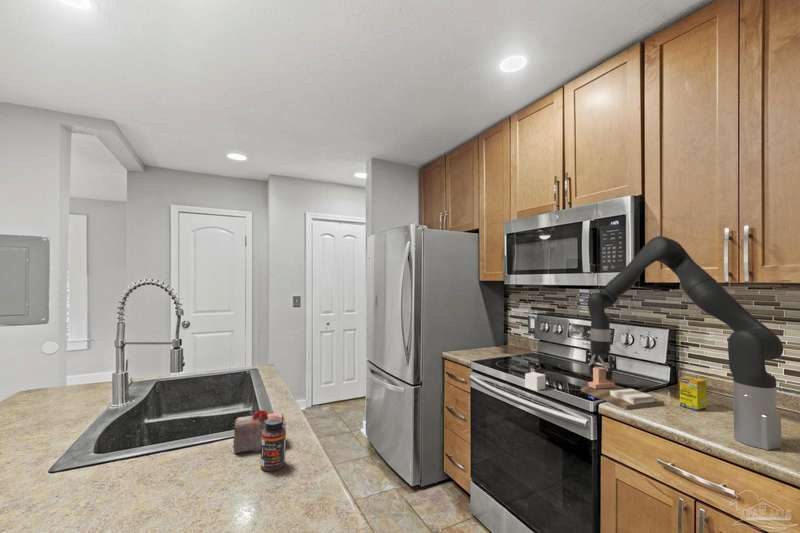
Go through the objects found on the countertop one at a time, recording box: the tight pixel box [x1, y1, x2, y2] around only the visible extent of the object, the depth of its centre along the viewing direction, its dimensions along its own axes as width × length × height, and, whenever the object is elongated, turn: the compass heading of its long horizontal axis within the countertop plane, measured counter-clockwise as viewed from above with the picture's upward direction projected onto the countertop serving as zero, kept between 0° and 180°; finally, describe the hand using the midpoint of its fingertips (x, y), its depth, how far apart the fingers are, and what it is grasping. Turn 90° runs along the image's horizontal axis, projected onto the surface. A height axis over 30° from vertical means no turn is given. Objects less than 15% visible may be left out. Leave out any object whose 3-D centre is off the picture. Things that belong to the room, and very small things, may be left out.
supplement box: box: [679, 375, 707, 412], centre depth 137 cm, size 6×6×11 cm
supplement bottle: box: [260, 418, 287, 472], centre depth 93 cm, size 6×6×11 cm
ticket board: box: [580, 384, 665, 410], centre depth 147 cm, size 22×18×4 cm
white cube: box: [524, 371, 546, 392], centre depth 160 cm, size 6×6×6 cm
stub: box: [587, 366, 616, 389], centre depth 156 cm, size 4×10×8 cm, turn 106°
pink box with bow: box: [232, 409, 287, 454], centre depth 103 cm, size 14×8×10 cm, turn 114°
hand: (600, 377), depth 157 cm, fingers open, 8 cm apart
